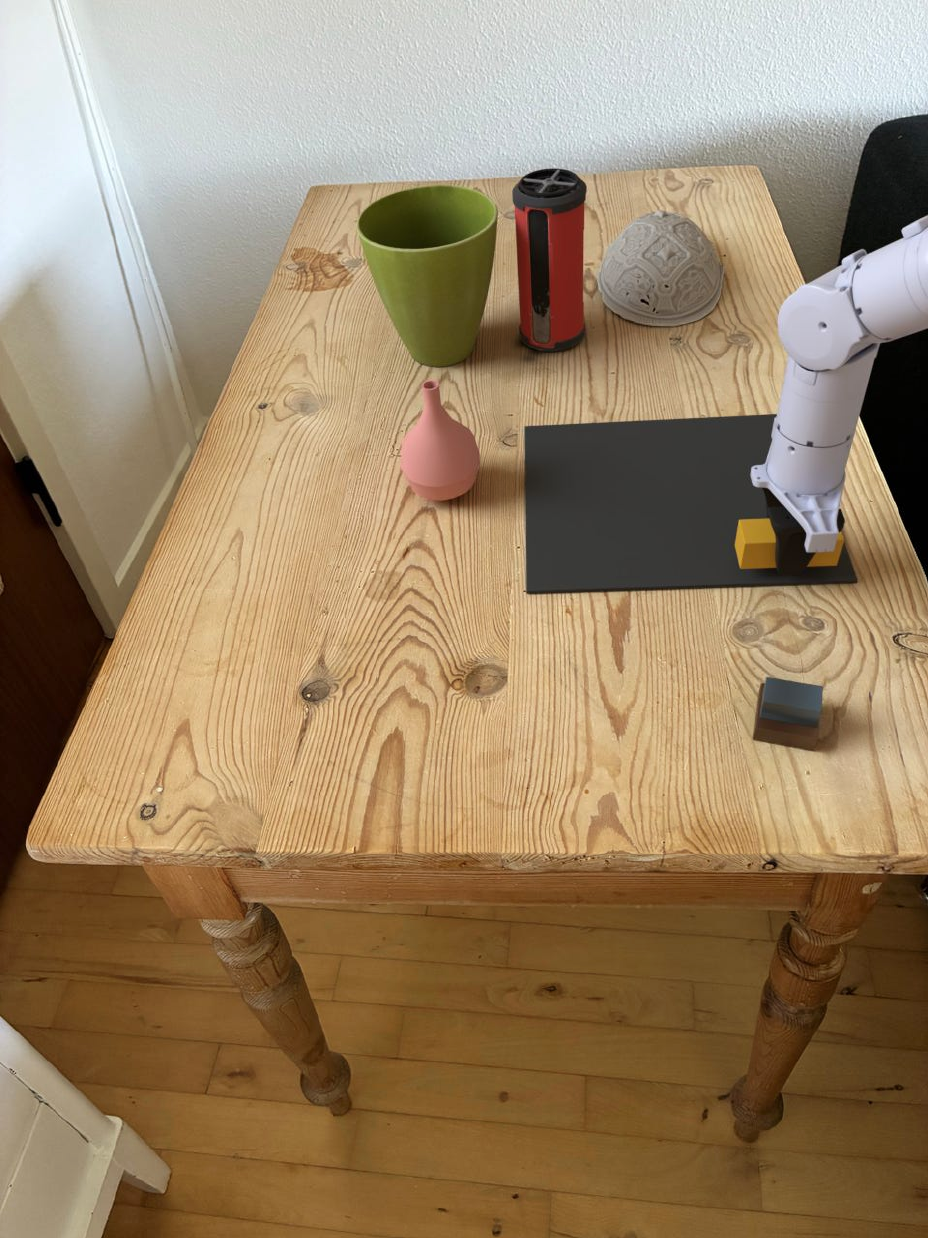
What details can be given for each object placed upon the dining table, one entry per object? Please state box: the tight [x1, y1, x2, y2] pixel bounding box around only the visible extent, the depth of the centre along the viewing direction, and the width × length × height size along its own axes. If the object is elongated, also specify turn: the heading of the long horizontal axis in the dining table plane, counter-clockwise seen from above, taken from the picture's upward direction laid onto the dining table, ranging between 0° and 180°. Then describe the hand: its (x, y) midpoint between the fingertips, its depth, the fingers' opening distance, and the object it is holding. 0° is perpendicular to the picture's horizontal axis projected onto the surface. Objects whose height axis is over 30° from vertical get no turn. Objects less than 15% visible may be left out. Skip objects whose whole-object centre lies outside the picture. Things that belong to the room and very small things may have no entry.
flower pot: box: [355, 184, 499, 368], centre depth 104 cm, size 15×15×16 cm
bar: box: [735, 518, 845, 569], centre depth 79 cm, size 8×3×3 cm, turn 88°
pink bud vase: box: [400, 379, 481, 501], centre depth 88 cm, size 8×8×12 cm
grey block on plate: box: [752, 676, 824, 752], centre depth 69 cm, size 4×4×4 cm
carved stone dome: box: [596, 209, 726, 328], centre depth 116 cm, size 16×25×7 cm, turn 172°
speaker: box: [511, 167, 588, 353], centre depth 103 cm, size 8×8×18 cm
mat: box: [524, 413, 859, 595], centre depth 89 cm, size 28×24×1 cm
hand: (785, 556), depth 80 cm, fingers closed on bar, 3 cm apart
